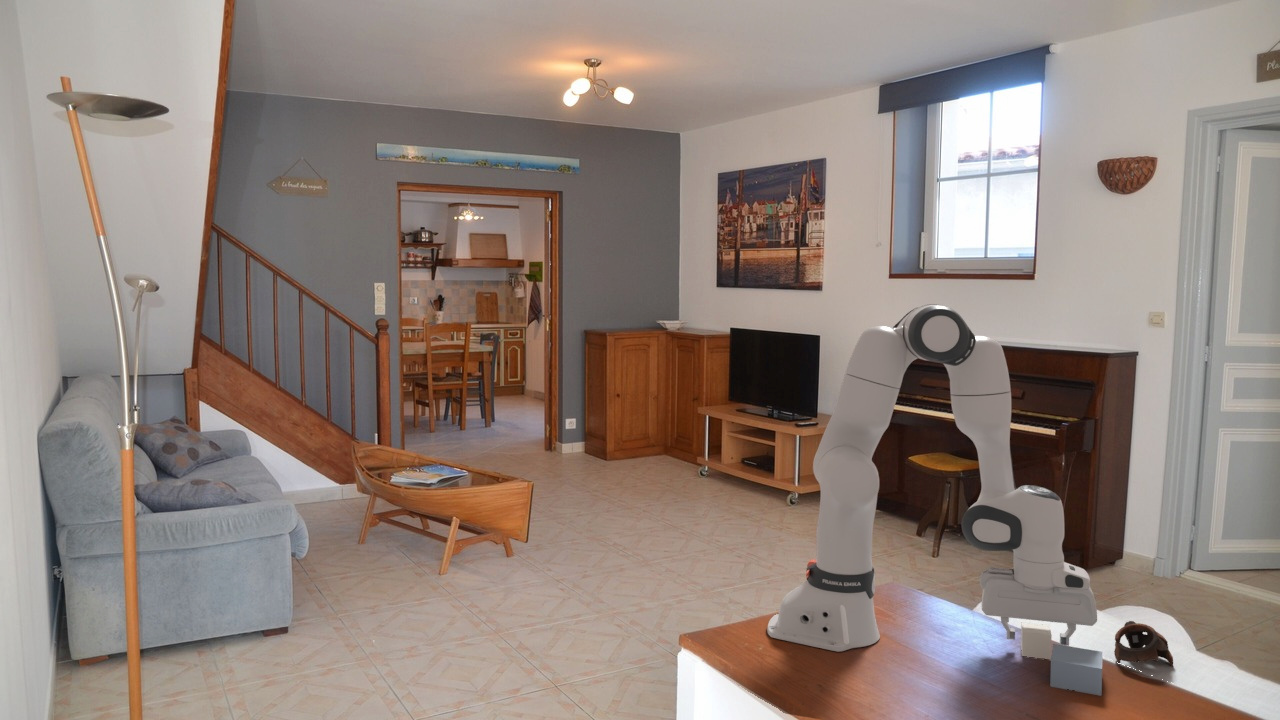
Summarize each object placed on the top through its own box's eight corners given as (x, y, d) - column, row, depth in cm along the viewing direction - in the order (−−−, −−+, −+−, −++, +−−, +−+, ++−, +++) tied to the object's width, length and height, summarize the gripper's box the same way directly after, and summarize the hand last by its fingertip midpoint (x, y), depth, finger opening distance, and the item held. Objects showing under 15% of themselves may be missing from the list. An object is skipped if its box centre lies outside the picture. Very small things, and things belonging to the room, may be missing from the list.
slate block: (1050, 687, 154) (1050, 660, 153) (1052, 670, 161) (1053, 643, 160) (1101, 696, 150) (1102, 668, 150) (1101, 678, 157) (1102, 651, 157)
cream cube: (1022, 657, 166) (1022, 631, 166) (1020, 647, 171) (1021, 622, 171) (1050, 660, 165) (1051, 634, 164) (1048, 650, 169) (1049, 625, 169)
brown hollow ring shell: (1187, 676, 158) (1173, 642, 156) (1136, 694, 160) (1121, 661, 158) (1154, 634, 170) (1140, 602, 168) (1106, 652, 172) (1092, 620, 170)
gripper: (980, 571, 168) (979, 641, 169) (1099, 581, 160) (1098, 654, 161) (979, 561, 174) (979, 629, 175) (1094, 571, 166) (1093, 641, 167)
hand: (1037, 641), depth 168 cm, fingers open, 8 cm apart
